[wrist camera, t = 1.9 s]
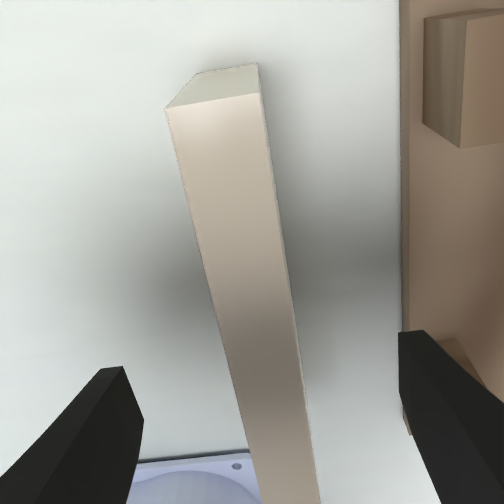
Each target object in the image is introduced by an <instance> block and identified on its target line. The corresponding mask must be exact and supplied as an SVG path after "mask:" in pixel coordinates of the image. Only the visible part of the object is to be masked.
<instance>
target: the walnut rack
mask: <svg viewBox="0 0 504 504" xmlns="http://www.w3.org/2000/svg"><path fill="white" fill-rule="evenodd" d="M400 105H401V218H402V331H403V332H407V331H415V330H424V331H426V332H427V333H428V334H429V335H430V336H431V337H432V338H433V339H434V340H435V341H436V342H437V343H438V344H439V345H440V346H441V347H442V348H443V349H444V350H445V351H446V352H447V353H448V354H449V355H450V356H451V357H452V358H453V359H455V360H456V361H457V362H458V363H459V364H460V365H461V366H462V367H463V368H464V369H465V370H466V371H467V372H469V373H470V374H471V375H472V376H473V377H474V378H475V379H477V380H478V381H479V382H480V383H481V384H482V385H483V386H485V387H486V388H487V389H488V390H489V391H490V392H491V393H493V394H494V395H495V396H496V397H497V398H499V399H500V400H501V401H502V402H503V403H504V0H400ZM403 419H404V422H405V424H406V427H407V430H408V433H409V435H412V433H411V430H410V427H409V424H408V421H407V417H406V414H405V411H404V407H403Z"/></svg>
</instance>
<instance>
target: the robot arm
mask: <svg viewBox="0 0 504 504" xmlns="http://www.w3.org/2000/svg"><path fill="white" fill-rule="evenodd" d="M398 358H399V393H400V397H401V400H402V404H403V407H404V411H405V414H406V417H407V421H408V424H409V427H410V430H411V433H412V435H413V438H414V440H415V442H416V445H417V447H418V450H419V452H420V454H421V457H422V459H423V461H424V464H425V466H426V468H427V471H428V473H429V476H430V478H431V480H432V483H433V485H434V487H435V490H436V492H437V494H438V497H439V499H440V501H441V504H504V403H503V402H502V401H501V400H500V399H499V398H497V397H496V396H495V395H494V394H493V393H491V392H490V391H489V390H488V389H487V388H486V387H485V386H483V385H482V384H481V383H480V382H479V381H478V380H477V379H475V378H474V377H473V376H472V375H471V374H470V373H469V372H467V371H466V370H465V369H464V368H463V367H462V366H461V365H460V364H459V363H458V362H457V361H456V360H455V359H453V358H452V357H451V356H450V355H449V354H448V353H447V352H446V351H445V350H444V349H443V348H442V347H441V346H440V345H439V344H438V343H437V342H436V341H435V340H434V339H433V338H432V337H431V336H430V335H429V334H428V333H427V332H426V331H424V330H415V331H407V332H398ZM143 424H144V418H143V416H142V413H141V411H140V408H139V406H138V403H137V401H136V398H135V396H134V393H133V391H132V388H131V386H130V383H129V381H128V378H127V376H126V373H125V370H124V368H123V366H119V367H111V368H103V369H100V370H99V371H98V372H97V373H96V374H95V376H94V377H93V378H92V379H91V380H90V381H89V382H88V383H87V385H86V386H85V387H84V388H83V389H82V390H81V391H80V393H79V394H78V395H77V396H76V397H75V398H74V399H73V401H72V402H71V403H70V404H69V405H68V406H67V407H66V409H65V410H64V411H63V412H62V413H61V414H60V415H59V416H58V418H57V419H56V420H55V421H54V422H53V423H52V424H51V425H50V426H49V428H48V429H47V430H46V431H45V432H44V433H43V434H42V435H41V436H40V437H39V438H38V439H37V440H36V441H35V442H34V443H33V445H32V446H31V447H30V448H29V449H28V450H27V451H26V452H25V453H24V454H23V455H22V456H21V457H20V458H19V459H18V460H17V461H16V462H15V463H14V464H13V465H12V466H11V467H10V468H9V469H8V470H7V471H6V472H5V473H4V474H3V475H2V476H1V477H0V504H263V502H262V498H261V494H260V490H259V486H258V482H257V478H256V474H255V470H254V466H253V462H252V458H251V454H250V453H238V454H228V455H219V456H209V457H199V458H190V459H180V460H171V461H161V462H151V463H142V464H137V462H138V458H139V452H140V446H141V440H142V432H143Z"/></svg>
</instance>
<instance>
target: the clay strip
mask: <svg viewBox="0 0 504 504" xmlns="http://www.w3.org/2000/svg"><path fill="white" fill-rule="evenodd" d="M165 112H166V116H167V120H168V124H169V128H170V132H171V136H172V140H173V144H174V148H175V152H176V157H177V161H178V165H179V169H180V173H181V177H182V181H183V185H184V189H185V193H186V197H187V201H188V205H189V209H190V213H191V217H192V221H193V225H194V229H195V233H196V237H197V241H198V245H199V249H200V253H201V257H202V261H203V265H204V269H205V273H206V277H207V281H208V285H209V289H210V293H211V297H212V301H213V305H214V309H215V313H216V317H217V321H218V325H219V329H220V333H221V337H222V342H223V346H224V350H225V354H226V358H227V362H228V366H229V370H230V374H231V378H232V382H233V386H234V390H235V394H236V398H237V402H238V406H239V410H240V414H241V418H242V422H243V426H244V430H245V434H246V438H247V442H248V446H249V450H250V454H251V458H252V462H253V466H254V470H255V474H256V478H257V482H258V486H259V490H260V494H261V498H262V502H263V504H320V496H319V489H318V481H317V473H316V466H315V458H314V451H313V443H312V436H311V428H310V421H309V413H308V405H307V398H306V390H305V383H304V376H303V369H302V363H301V356H300V349H299V342H298V335H297V329H296V322H295V315H294V308H293V302H292V295H291V288H290V281H289V274H288V268H287V261H286V254H285V247H284V241H283V234H282V227H281V220H280V213H279V207H278V200H277V193H276V186H275V180H274V173H273V166H272V159H271V153H270V146H269V139H268V132H267V125H266V119H265V112H264V105H263V98H262V92H261V85H260V78H259V71H258V64H257V63H253V64H248V65H242V66H236V67H231V68H225V69H219V70H214V71H208V72H202V73H197V74H196V75H195V76H194V77H193V78H192V79H191V80H190V81H189V82H188V83H187V84H186V86H185V87H184V88H183V89H182V90H181V91H180V92H179V93H178V94H177V95H176V97H175V98H174V99H173V100H172V101H171V102H170V103H169V104H168V105H167V106H166V108H165Z"/></svg>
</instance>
